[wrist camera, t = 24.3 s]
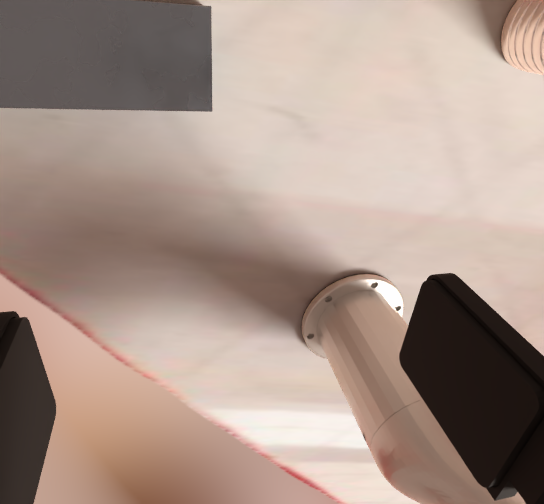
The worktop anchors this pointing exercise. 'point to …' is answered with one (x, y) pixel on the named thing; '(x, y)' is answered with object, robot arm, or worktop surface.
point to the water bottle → (525, 36)
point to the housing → (105, 55)
